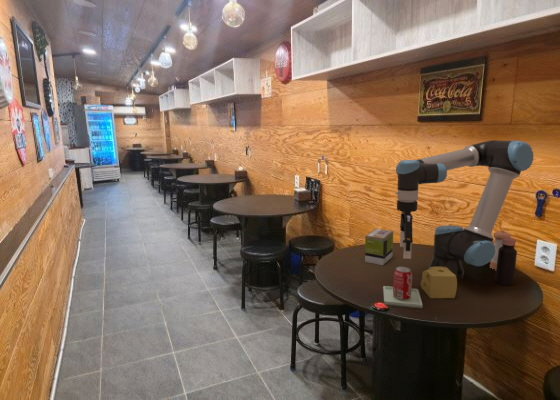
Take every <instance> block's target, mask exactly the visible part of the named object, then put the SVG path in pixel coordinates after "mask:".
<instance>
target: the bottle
mask: <svg viewBox="0 0 560 400" xmlns="http://www.w3.org/2000/svg"><path fill="white" fill-rule="evenodd" d="M516 241H517V240H516V239H515V238H512V237H511V238H502V245H503V246H502V247H500V248H499V251H498V260H497V269H496V270H495V278H494V279H495V280H494V281H495V282H496V283H498V284H499V285H502V286H512V285H514V281H515V272H516V271H515V270H516V265H517V263H516V262H517V254H518V251H517V250H516V248H515V246H516Z"/></svg>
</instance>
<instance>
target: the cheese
mask: <svg viewBox="0 0 560 400" xmlns="http://www.w3.org/2000/svg"><path fill="white" fill-rule="evenodd" d="M421 277H422V278H421V280H420V288H421V289H422V290H423V292H425V294H426V295H427V297H429V299H455V298H456V293H457V289H458V288H457V286H458V280H457V278H456V275H455V274H453V273H452V272H451V271H450V270H449V269H448V268H447V267H430V268H429V270H428V269H425V270H424V271H422V274H421Z"/></svg>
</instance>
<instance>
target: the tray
mask: <svg viewBox="0 0 560 400" xmlns="http://www.w3.org/2000/svg"><path fill="white" fill-rule="evenodd" d="M382 292H383V305H384V304H385V305H384V306H393V307H394V306H395V307H404V308H412V309H423V302H422V297H421V295H420V290H419V288H412V291H411V297H410V298H409V299H406V300H401V299H398V298H396V297H395V296H394V295H393V286H388V285H386V286H385V285H383V286H382Z"/></svg>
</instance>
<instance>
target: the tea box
mask: <svg viewBox="0 0 560 400" xmlns="http://www.w3.org/2000/svg"><path fill="white" fill-rule="evenodd" d="M364 249H365V250H364V262H365V263H370V264H372V265H373V264H375V265H379V266H384V265H385V264H386V263H387V262H388V261H389V260H390V259H392V258H393V257H394V256H393V255H394V254H393V253H394V231H393V230H389V229H381V228H374V229H373V230H372V231H370V232H369V233H367V234H366V235H365V242H364Z"/></svg>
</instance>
